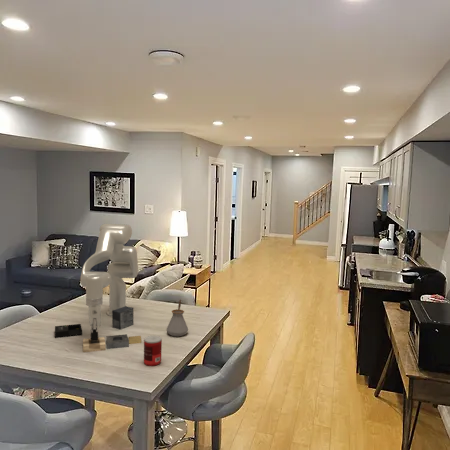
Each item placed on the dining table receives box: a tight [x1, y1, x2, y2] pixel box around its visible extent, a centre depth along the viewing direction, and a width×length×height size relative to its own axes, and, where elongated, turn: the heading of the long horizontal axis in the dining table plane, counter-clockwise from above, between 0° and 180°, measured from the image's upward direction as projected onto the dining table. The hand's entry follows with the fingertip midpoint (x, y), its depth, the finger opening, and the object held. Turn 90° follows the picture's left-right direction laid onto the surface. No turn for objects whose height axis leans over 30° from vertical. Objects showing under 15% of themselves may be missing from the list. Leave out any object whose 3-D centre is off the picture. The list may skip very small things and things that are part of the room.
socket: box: [105, 334, 130, 350], centre depth 202 cm, size 10×10×3 cm
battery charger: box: [54, 323, 83, 339], centre depth 214 cm, size 13×10×4 cm
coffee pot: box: [166, 299, 189, 338], centre depth 223 cm, size 21×12×15 cm, turn 1°
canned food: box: [143, 335, 163, 367], centre depth 183 cm, size 8×8×11 cm
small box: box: [111, 306, 134, 331], centre depth 227 cm, size 11×6×10 cm, turn 149°
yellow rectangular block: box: [128, 335, 142, 345], centre depth 205 cm, size 3×6×3 cm, turn 109°
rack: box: [82, 336, 107, 353], centre depth 198 cm, size 10×10×3 cm
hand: (94, 338), depth 198 cm, fingers open, 3 cm apart
